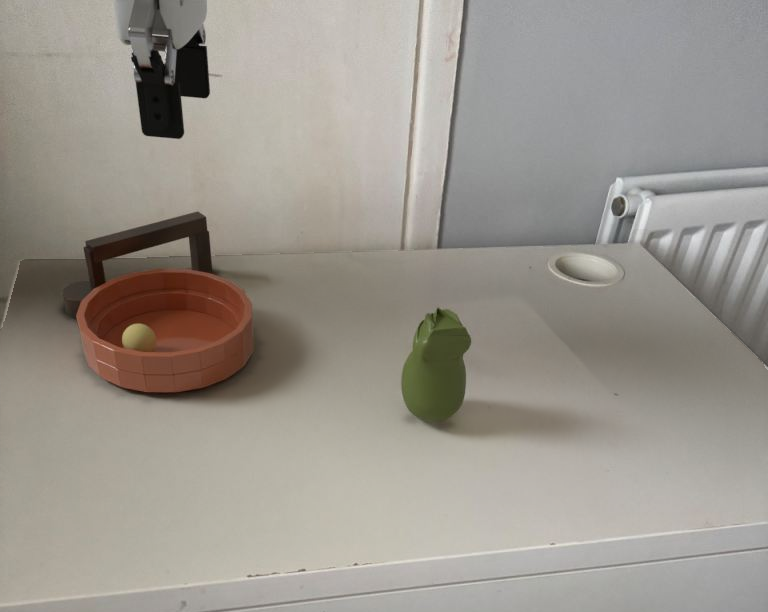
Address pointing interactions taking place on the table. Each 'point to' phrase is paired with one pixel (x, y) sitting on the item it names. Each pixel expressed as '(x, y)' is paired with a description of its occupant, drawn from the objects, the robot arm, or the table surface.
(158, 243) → the ladle
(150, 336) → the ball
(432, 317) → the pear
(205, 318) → the bowl
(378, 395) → the table surface
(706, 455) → the table surface
